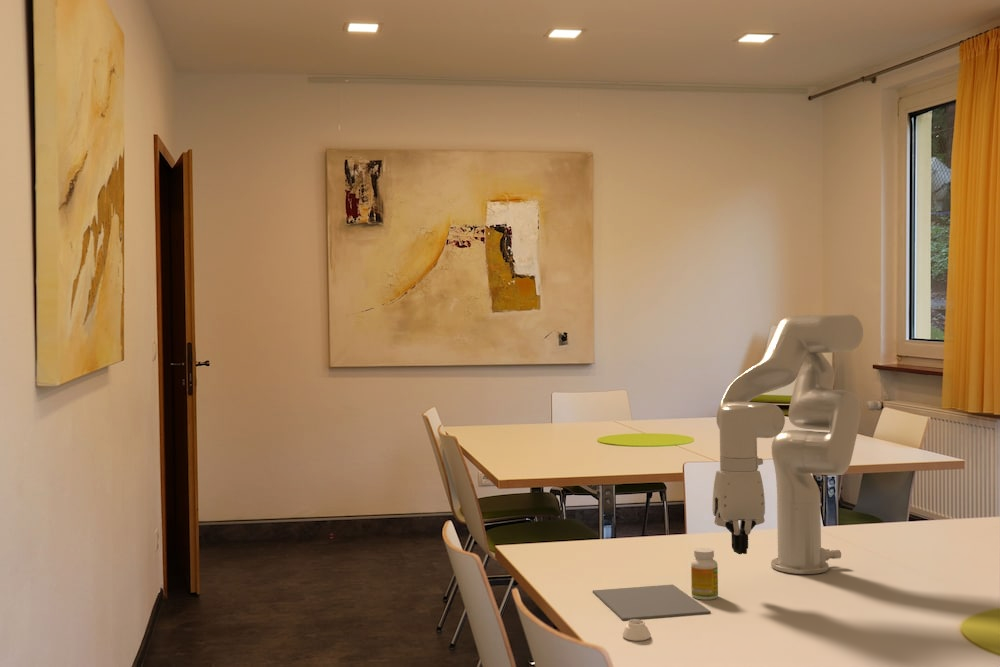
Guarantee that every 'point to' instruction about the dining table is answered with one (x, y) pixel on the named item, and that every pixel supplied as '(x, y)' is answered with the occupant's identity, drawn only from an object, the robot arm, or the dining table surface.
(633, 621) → the lidless jar
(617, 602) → the felt mat
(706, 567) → the supplement bottle
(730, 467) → the robot arm
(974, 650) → the dining table surface
